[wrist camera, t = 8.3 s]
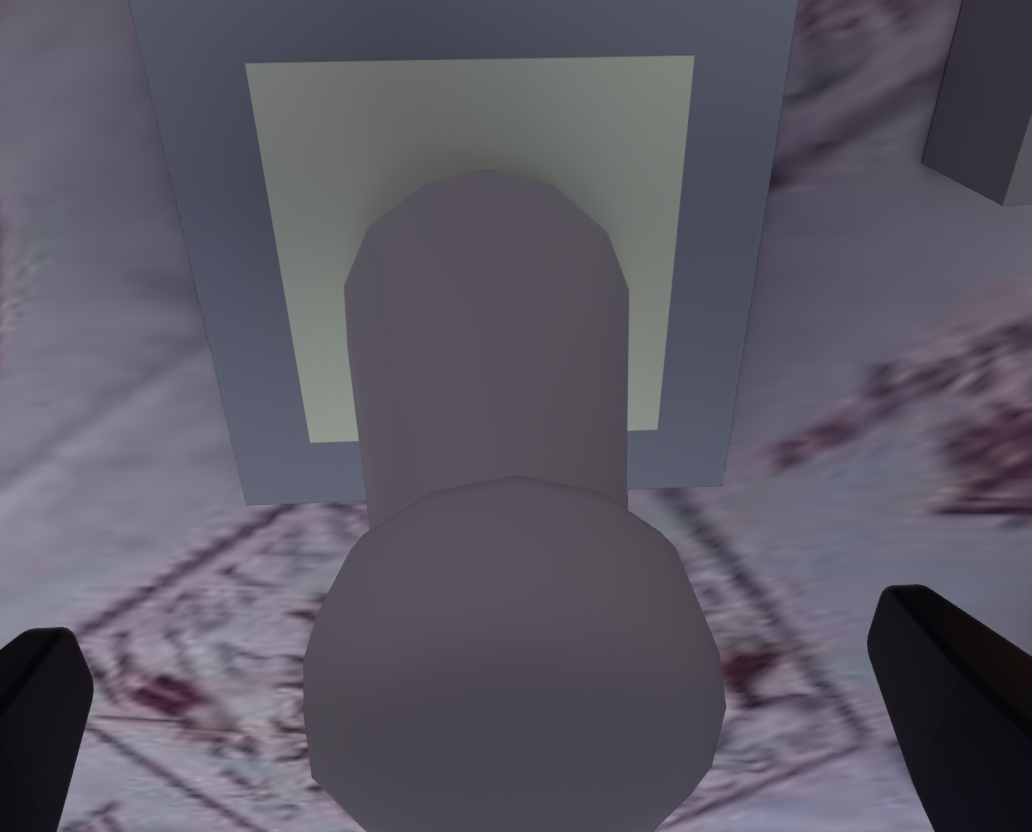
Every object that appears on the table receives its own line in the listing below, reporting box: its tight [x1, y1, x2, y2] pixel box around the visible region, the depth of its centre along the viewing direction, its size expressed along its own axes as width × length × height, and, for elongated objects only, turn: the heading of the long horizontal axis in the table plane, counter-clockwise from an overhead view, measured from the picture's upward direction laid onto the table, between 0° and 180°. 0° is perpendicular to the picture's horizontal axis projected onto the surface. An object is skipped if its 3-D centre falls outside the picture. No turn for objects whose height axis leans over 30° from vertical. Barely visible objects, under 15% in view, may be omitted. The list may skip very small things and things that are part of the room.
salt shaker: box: [303, 169, 726, 832], centre depth 13 cm, size 6×6×13 cm
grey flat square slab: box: [129, 0, 798, 505], centre depth 19 cm, size 13×13×1 cm
